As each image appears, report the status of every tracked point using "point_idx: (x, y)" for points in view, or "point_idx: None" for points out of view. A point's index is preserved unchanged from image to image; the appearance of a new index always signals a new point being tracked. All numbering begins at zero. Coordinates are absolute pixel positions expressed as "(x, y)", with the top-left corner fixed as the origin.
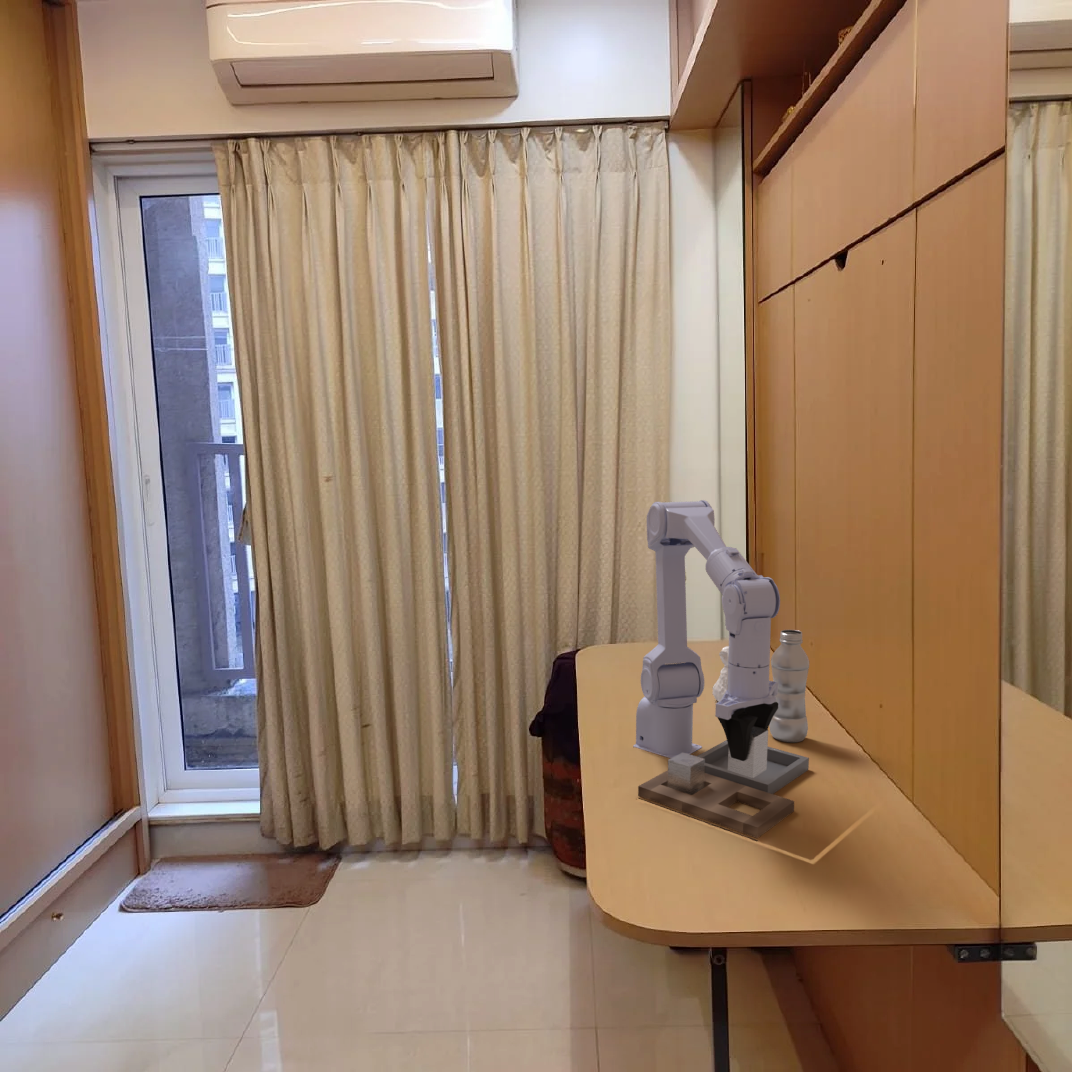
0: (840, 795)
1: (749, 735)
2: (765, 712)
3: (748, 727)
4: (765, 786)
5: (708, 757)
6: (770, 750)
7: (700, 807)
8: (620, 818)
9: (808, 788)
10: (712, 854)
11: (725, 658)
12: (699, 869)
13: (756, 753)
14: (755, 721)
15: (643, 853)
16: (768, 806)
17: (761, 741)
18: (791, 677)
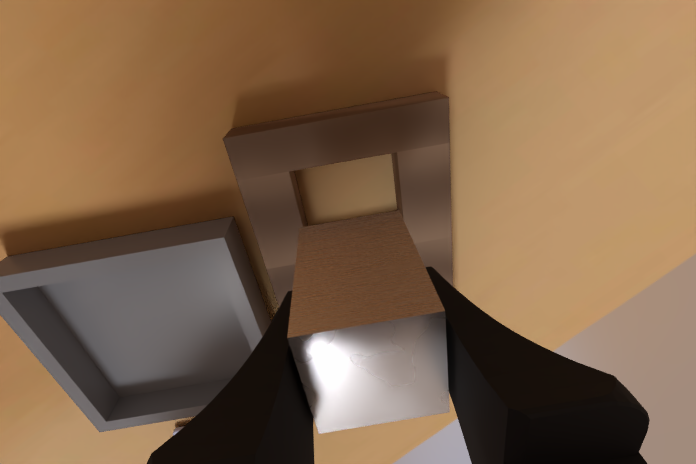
0: (8, 117)
1: (469, 332)
2: (275, 450)
3: (563, 363)
4: (227, 239)
5: None
6: (55, 356)
7: (451, 254)
8: (536, 321)
9: (75, 199)
10: (564, 119)
11: None
12: (647, 90)
13: (395, 260)
14: (499, 390)
15: (640, 211)
16: (315, 161)
17: (359, 295)
18: None
